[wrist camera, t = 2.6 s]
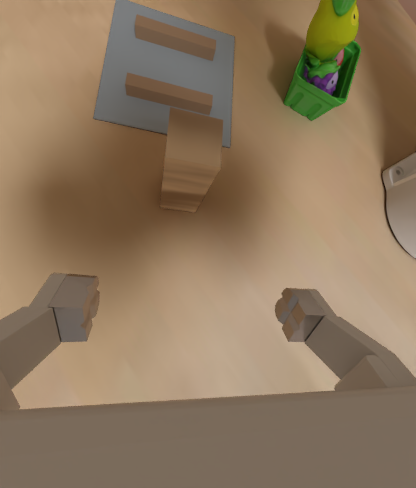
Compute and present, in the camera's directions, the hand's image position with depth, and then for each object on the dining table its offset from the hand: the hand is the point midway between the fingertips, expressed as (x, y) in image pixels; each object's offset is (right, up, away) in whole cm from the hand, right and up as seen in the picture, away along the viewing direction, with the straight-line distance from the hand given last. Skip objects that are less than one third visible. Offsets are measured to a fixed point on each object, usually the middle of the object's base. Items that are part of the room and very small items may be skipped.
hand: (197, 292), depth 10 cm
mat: (-4, +24, +19) cm, 31 cm away
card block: (-3, +8, +16) cm, 18 cm away
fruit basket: (+15, +25, +24) cm, 38 cm away
